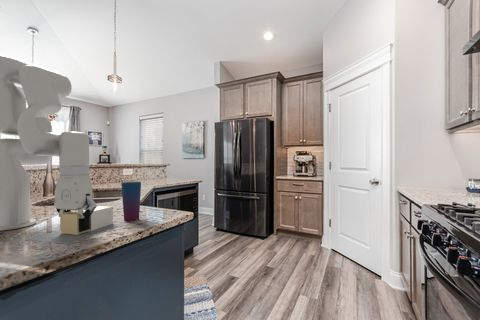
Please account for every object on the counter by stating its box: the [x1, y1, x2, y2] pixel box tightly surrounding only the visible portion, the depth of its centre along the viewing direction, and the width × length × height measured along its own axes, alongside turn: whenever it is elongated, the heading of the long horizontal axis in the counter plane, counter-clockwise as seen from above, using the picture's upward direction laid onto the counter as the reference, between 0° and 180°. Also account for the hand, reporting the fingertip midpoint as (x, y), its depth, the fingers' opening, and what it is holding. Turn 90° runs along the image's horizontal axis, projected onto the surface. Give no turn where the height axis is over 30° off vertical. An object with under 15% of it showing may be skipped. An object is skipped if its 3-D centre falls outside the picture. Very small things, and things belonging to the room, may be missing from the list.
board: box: [25, 222, 125, 245], centre depth 71 cm, size 16×20×1 cm
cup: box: [120, 180, 142, 223], centre depth 85 cm, size 7×7×15 cm
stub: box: [60, 210, 89, 235], centre depth 70 cm, size 6×4×6 cm, turn 75°
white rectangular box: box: [83, 205, 114, 231], centre depth 76 cm, size 6×9×6 cm
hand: (75, 229), depth 70 cm, fingers closed on stub, 6 cm apart
